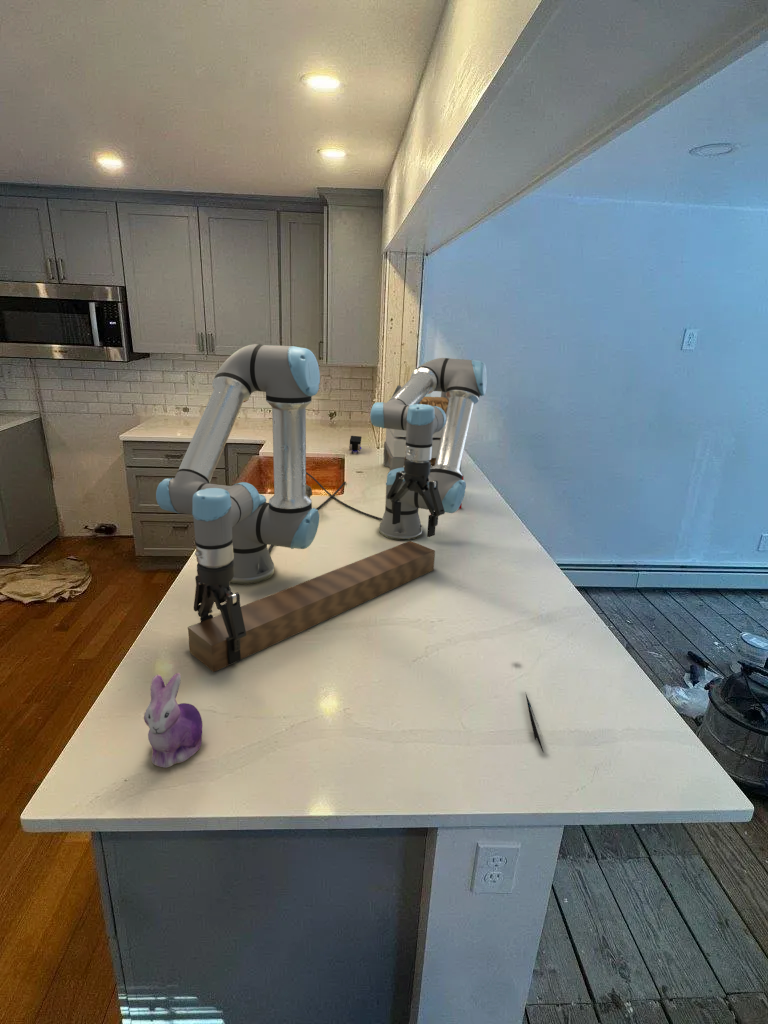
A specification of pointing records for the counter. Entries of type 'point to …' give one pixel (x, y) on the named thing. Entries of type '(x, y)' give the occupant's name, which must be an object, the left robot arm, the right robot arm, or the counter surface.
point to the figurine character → (355, 444)
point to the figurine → (171, 724)
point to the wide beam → (310, 603)
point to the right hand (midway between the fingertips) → (413, 529)
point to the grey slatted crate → (397, 438)
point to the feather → (534, 723)
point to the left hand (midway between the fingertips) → (221, 651)
